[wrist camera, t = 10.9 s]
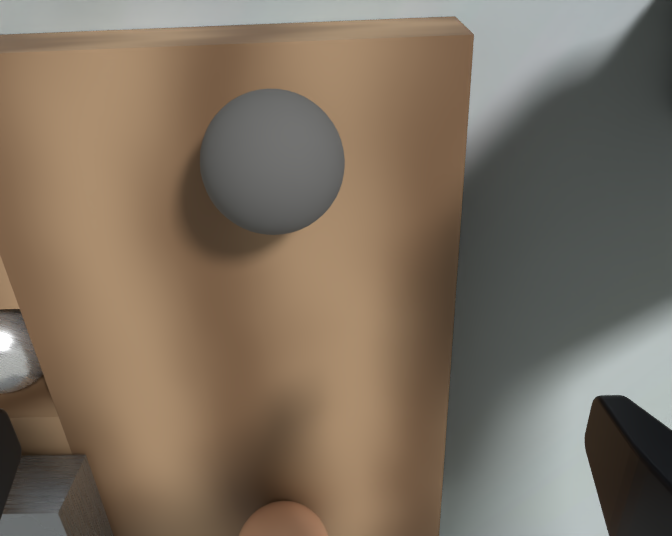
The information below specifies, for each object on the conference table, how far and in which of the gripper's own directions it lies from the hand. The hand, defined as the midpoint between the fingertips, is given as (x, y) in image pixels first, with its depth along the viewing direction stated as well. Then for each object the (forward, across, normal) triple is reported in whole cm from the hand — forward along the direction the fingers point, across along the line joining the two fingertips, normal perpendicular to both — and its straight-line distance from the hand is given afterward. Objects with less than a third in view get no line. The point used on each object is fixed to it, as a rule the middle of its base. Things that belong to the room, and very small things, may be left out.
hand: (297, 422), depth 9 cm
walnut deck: (+12, +7, +6) cm, 15 cm away
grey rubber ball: (+7, +1, -2) cm, 7 cm away
